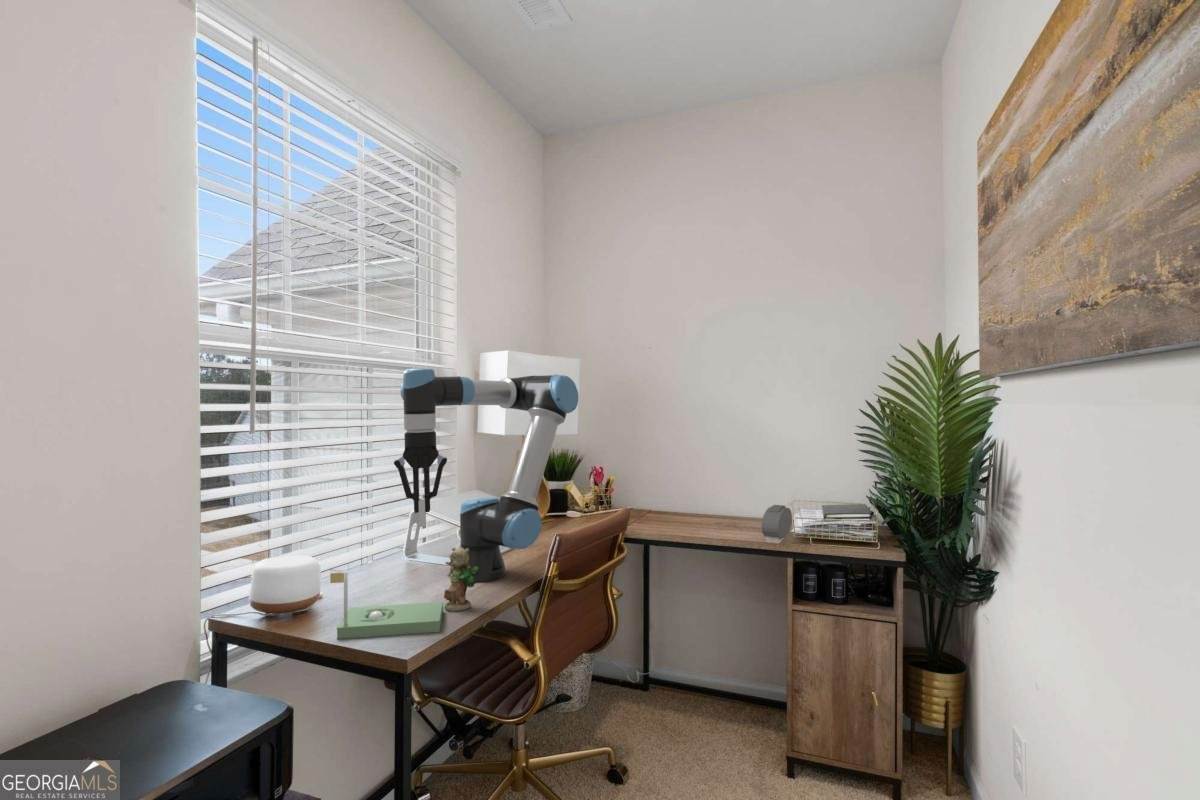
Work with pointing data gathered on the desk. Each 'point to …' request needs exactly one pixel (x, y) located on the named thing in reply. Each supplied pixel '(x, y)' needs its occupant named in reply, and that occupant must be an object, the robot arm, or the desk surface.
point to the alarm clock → (776, 522)
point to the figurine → (459, 580)
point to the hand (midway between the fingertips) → (422, 525)
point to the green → (392, 620)
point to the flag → (341, 578)
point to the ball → (375, 615)
